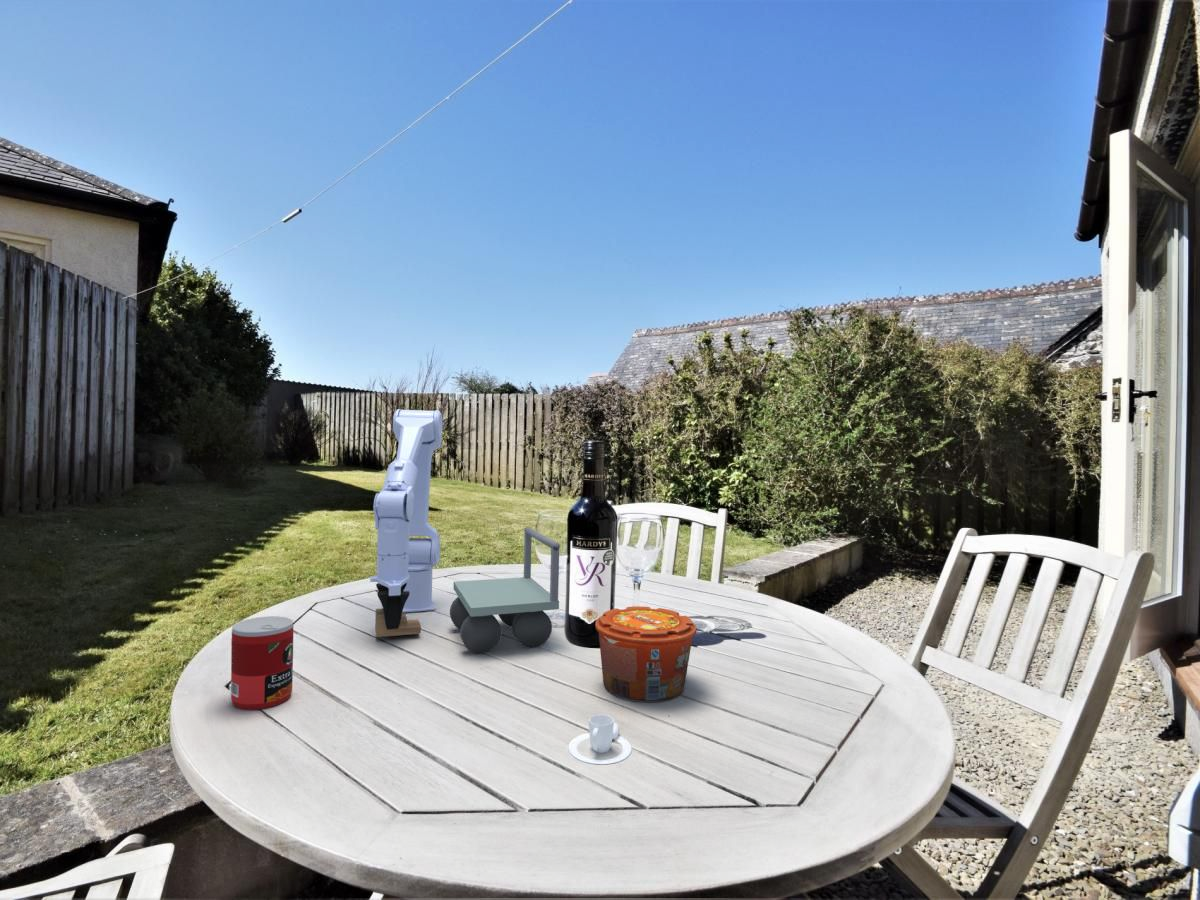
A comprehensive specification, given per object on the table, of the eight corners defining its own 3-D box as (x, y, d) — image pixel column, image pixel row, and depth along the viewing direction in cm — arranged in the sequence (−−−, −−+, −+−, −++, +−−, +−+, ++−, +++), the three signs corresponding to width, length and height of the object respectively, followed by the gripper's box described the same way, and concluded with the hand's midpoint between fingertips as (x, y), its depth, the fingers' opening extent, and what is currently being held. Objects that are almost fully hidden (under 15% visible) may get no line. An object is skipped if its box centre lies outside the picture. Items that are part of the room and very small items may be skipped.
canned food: (274, 711, 85) (276, 632, 85) (218, 709, 85) (218, 631, 85) (302, 689, 93) (303, 616, 93) (250, 687, 93) (251, 615, 93)
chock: (375, 629, 119) (375, 608, 119) (418, 625, 122) (418, 606, 122) (376, 637, 114) (376, 616, 114) (420, 633, 117) (421, 613, 117)
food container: (709, 680, 100) (711, 615, 100) (669, 718, 86) (671, 642, 86) (623, 660, 108) (625, 599, 108) (574, 691, 95) (575, 622, 94)
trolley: (447, 626, 125) (449, 529, 124) (529, 618, 131) (531, 526, 131) (464, 660, 106) (466, 546, 106) (557, 650, 113) (560, 542, 112)
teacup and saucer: (599, 727, 84) (600, 698, 84) (647, 747, 79) (648, 716, 79) (555, 752, 77) (556, 720, 77) (604, 775, 72) (605, 741, 72)
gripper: (369, 547, 122) (368, 615, 123) (371, 561, 109) (370, 638, 109) (406, 545, 125) (405, 612, 125) (413, 559, 112) (411, 634, 112)
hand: (391, 624), depth 117 cm, fingers closed on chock, 5 cm apart
